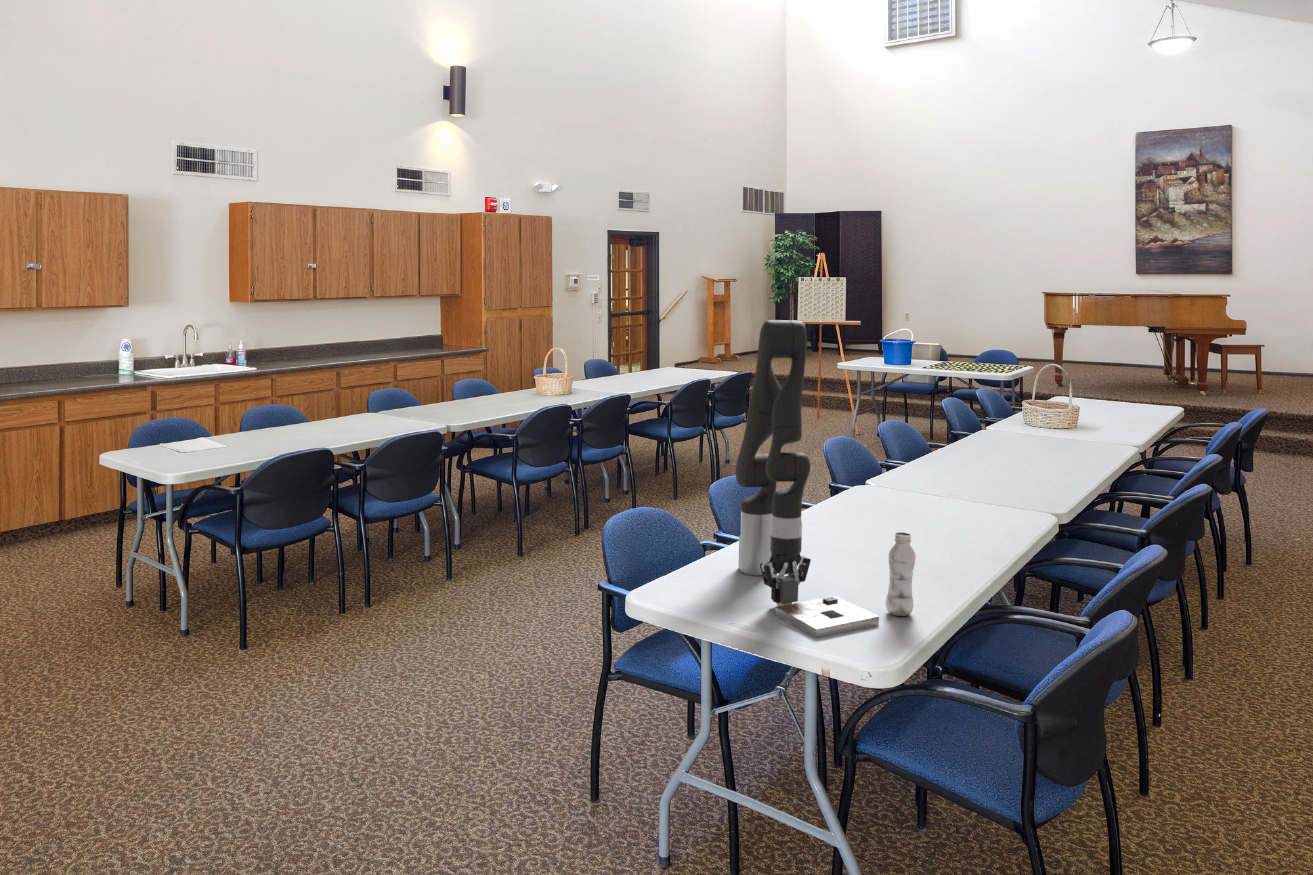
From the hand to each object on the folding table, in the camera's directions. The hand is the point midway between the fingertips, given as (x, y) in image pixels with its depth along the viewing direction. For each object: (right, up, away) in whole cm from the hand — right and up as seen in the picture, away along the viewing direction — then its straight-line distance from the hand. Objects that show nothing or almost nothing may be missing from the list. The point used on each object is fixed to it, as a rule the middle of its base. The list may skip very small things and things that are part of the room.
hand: (784, 600), depth 219 cm
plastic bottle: (+27, -3, -4) cm, 28 cm away
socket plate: (+9, -3, -8) cm, 12 cm away
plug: (0, -2, 0) cm, 2 cm away
